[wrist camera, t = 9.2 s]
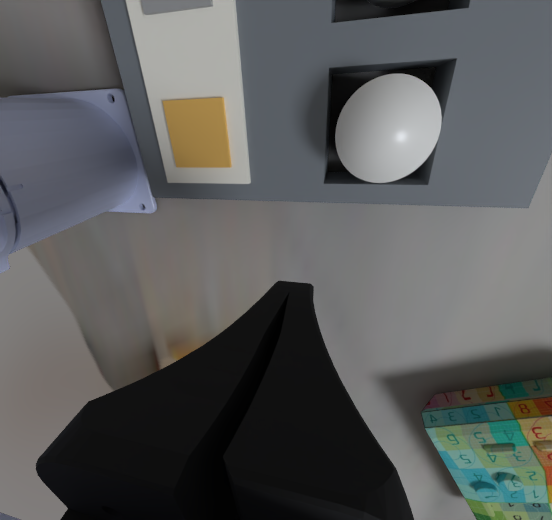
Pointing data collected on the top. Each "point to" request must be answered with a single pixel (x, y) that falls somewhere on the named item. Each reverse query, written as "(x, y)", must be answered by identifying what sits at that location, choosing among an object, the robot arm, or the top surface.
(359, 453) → the robot arm
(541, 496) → the puzzle game
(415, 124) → the button
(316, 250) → the top surface
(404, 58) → the board
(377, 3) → the button middle
